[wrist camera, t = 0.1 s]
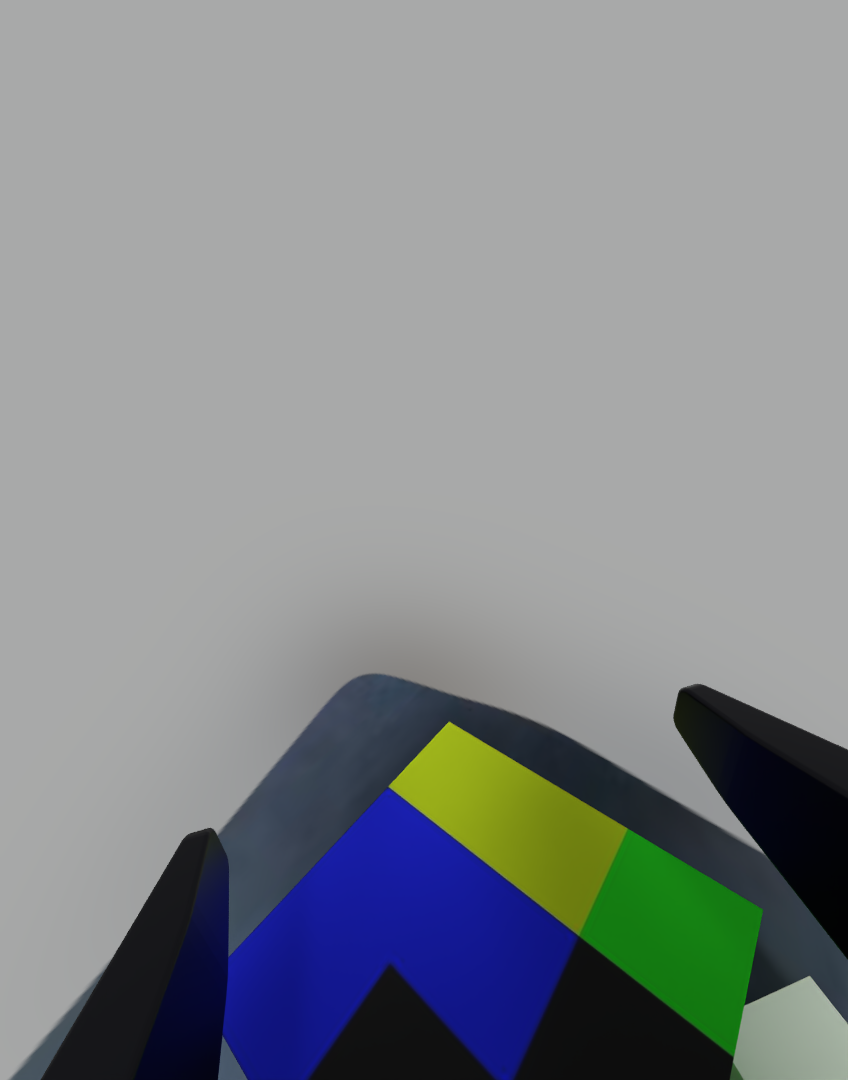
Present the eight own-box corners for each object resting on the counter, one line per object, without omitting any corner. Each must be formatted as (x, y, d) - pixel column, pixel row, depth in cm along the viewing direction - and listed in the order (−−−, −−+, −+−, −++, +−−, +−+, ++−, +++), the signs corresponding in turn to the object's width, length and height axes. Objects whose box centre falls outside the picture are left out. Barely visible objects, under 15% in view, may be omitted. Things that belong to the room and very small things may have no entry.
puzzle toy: (289, 1120, 16) (197, 990, 11) (463, 869, 22) (449, 721, 18) (564, 1588, 10) (605, 1712, 5) (694, 1059, 16) (763, 910, 12)
